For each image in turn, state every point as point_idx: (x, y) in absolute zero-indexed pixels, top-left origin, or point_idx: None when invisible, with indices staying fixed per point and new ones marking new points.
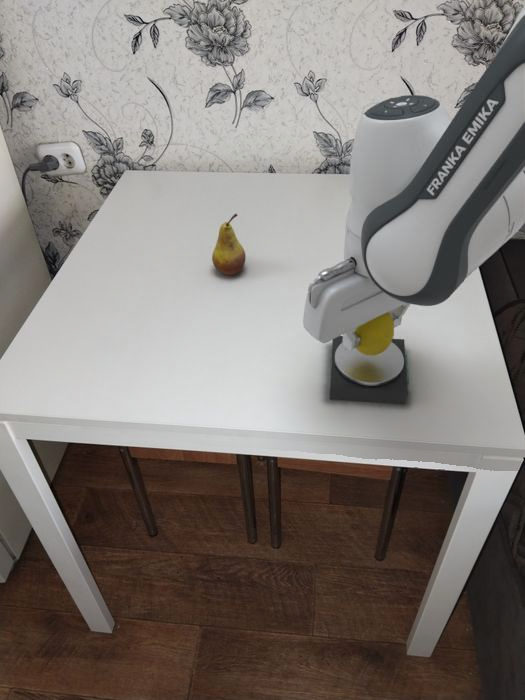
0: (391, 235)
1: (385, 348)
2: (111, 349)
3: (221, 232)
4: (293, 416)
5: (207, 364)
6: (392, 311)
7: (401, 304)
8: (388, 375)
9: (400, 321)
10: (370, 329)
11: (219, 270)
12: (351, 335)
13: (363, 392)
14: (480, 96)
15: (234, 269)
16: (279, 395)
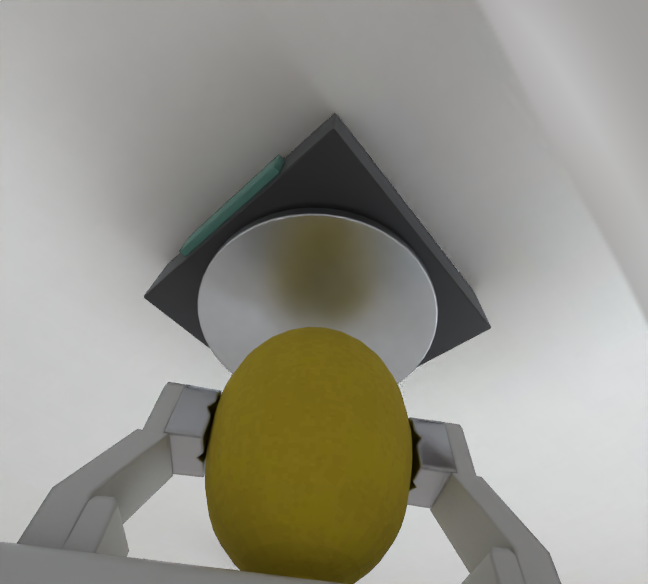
0: None
1: (325, 341)
2: (588, 579)
3: None
4: (583, 318)
5: (532, 496)
6: (166, 468)
7: (146, 576)
8: (337, 235)
9: (162, 401)
10: (391, 495)
11: None
12: (510, 529)
13: (431, 246)
14: None
15: None
16: (532, 376)
